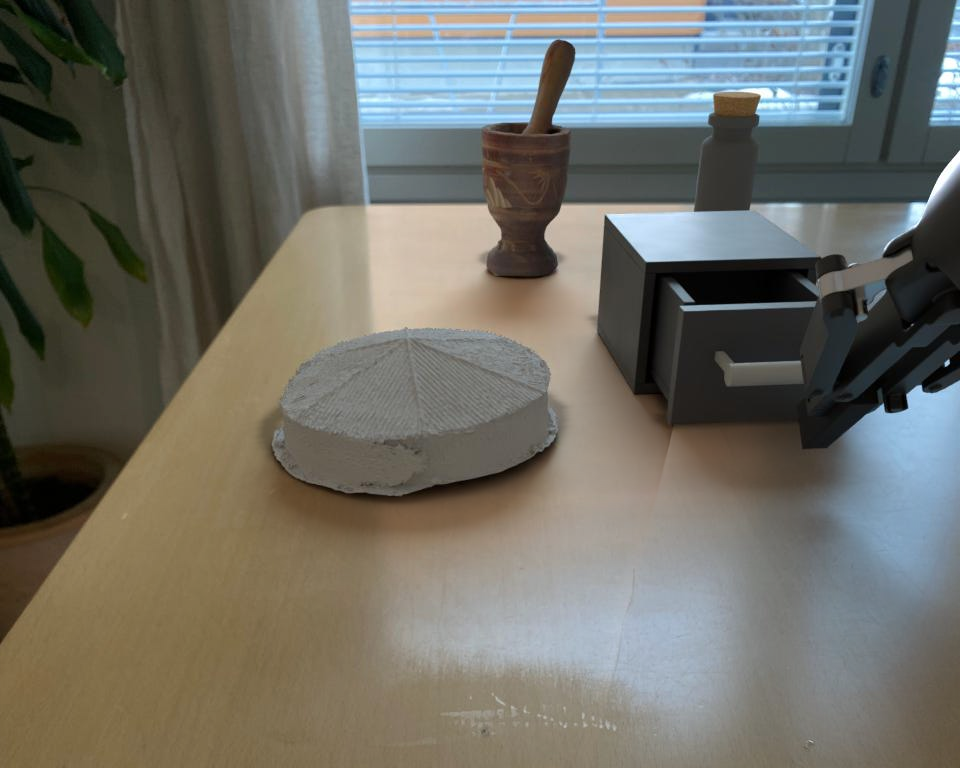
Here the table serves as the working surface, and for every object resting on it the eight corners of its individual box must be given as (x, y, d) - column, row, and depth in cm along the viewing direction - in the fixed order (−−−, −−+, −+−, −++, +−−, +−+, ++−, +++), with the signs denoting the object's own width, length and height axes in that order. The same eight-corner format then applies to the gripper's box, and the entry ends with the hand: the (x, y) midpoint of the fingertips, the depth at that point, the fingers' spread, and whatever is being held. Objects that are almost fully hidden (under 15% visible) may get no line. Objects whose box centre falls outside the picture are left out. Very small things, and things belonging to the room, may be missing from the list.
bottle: (726, 241, 110) (747, 89, 101) (753, 253, 106) (778, 96, 97) (679, 245, 109) (697, 92, 100) (705, 258, 104) (726, 99, 95)
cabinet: (796, 387, 74) (821, 256, 69) (633, 394, 73) (646, 262, 68) (737, 326, 86) (755, 210, 80) (596, 331, 85) (604, 214, 80)
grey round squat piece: (594, 488, 61) (601, 383, 57) (270, 514, 58) (254, 405, 54) (529, 374, 77) (531, 285, 73) (272, 390, 74) (260, 299, 70)
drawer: (857, 445, 64) (886, 326, 59) (686, 453, 63) (702, 333, 58) (767, 352, 78) (785, 250, 73) (627, 357, 77) (636, 255, 73)
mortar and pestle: (497, 248, 108) (499, 36, 96) (574, 253, 106) (585, 38, 95) (473, 277, 99) (471, 47, 87) (557, 282, 97) (567, 49, 85)
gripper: (918, 276, 33) (710, 493, 56) (1278, 265, 34) (927, 482, 57) (888, 77, 34) (696, 370, 57) (1237, 72, 35) (909, 362, 58)
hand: (811, 426), depth 57 cm, fingers closed
